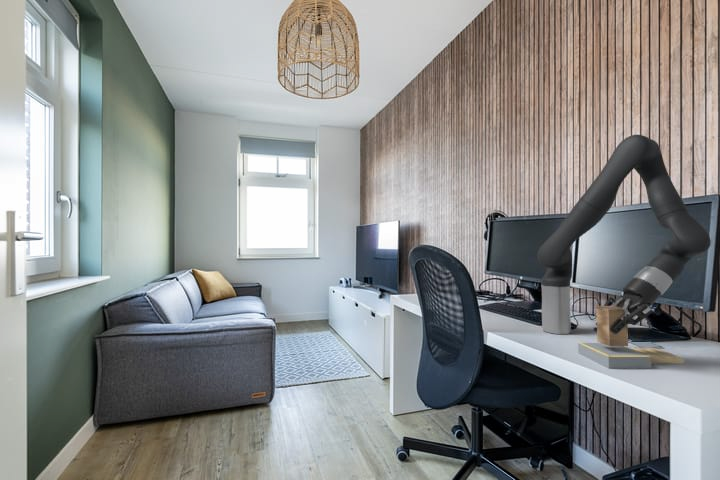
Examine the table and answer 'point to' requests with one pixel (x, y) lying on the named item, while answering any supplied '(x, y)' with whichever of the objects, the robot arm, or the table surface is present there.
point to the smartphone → (645, 344)
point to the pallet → (659, 355)
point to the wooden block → (605, 321)
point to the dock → (614, 356)
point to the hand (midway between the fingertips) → (605, 329)
